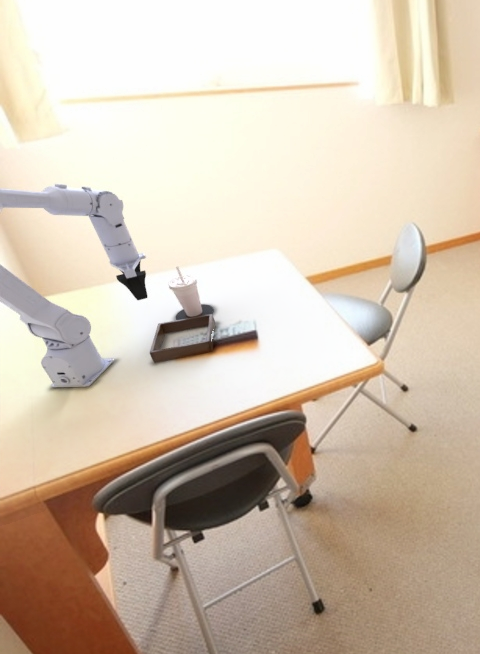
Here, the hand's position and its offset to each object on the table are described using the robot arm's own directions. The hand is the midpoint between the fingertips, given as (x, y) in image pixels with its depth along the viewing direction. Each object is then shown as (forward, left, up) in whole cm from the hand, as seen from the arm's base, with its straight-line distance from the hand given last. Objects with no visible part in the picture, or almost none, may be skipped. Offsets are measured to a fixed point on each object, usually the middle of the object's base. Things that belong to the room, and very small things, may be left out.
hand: (140, 292), depth 120 cm
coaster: (+6, -7, -10) cm, 14 cm away
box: (-7, -11, -10) cm, 17 cm away
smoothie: (+6, -7, -10) cm, 14 cm away
